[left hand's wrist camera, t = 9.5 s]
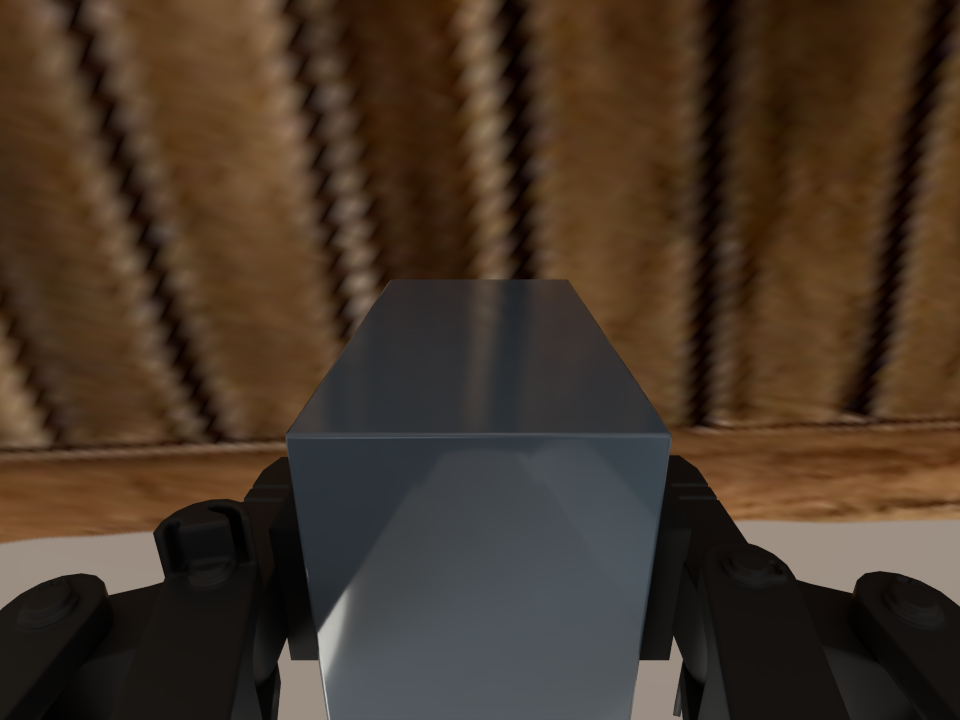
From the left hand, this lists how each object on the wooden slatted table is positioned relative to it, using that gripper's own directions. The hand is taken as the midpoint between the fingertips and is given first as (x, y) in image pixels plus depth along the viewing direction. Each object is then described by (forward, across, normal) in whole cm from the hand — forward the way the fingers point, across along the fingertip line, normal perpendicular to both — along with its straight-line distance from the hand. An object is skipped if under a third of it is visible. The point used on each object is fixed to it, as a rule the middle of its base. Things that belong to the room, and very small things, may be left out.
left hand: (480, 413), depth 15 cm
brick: (+1, 0, 0) cm, 1 cm away
